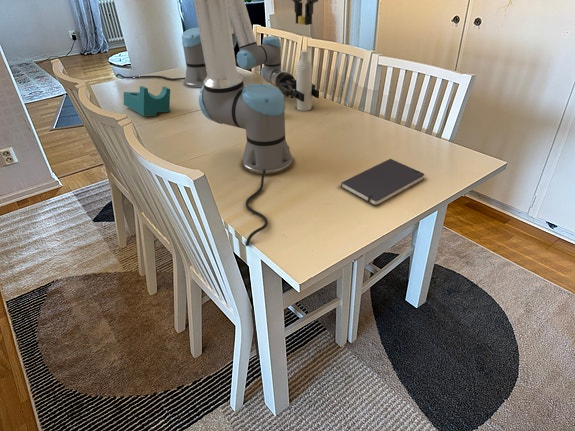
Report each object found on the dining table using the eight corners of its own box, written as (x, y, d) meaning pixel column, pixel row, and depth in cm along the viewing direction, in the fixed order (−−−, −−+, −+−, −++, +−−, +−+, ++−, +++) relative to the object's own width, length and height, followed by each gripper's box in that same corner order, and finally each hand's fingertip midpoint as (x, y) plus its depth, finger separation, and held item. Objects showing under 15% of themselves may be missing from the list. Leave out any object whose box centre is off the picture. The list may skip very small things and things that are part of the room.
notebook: (389, 163, 124) (340, 187, 113) (390, 158, 123) (341, 182, 112) (424, 178, 116) (375, 206, 105) (425, 174, 115) (376, 201, 104)
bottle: (311, 105, 166) (312, 49, 153) (311, 110, 161) (311, 53, 148) (297, 105, 166) (296, 49, 153) (296, 110, 161) (295, 53, 148)
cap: (295, 23, 145) (295, 16, 143) (302, 21, 147) (302, 14, 146) (304, 24, 142) (304, 17, 141) (311, 23, 145) (311, 15, 144)
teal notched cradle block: (169, 115, 164) (170, 89, 159) (143, 115, 156) (144, 88, 152) (148, 104, 174) (148, 79, 170) (123, 104, 167) (123, 78, 163)
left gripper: (302, 85, 178) (331, 101, 162) (263, 93, 171) (289, 110, 155) (302, 68, 174) (331, 82, 157) (262, 75, 167) (288, 91, 150)
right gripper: (331, -56, 128) (328, 24, 142) (293, -56, 138) (293, 19, 152) (315, -55, 124) (314, 28, 138) (277, -55, 134) (279, 22, 148)
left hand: (310, 96), depth 156 cm, fingers closed on bottle, 6 cm apart
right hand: (303, 23), depth 145 cm, fingers closed on cap, 4 cm apart
